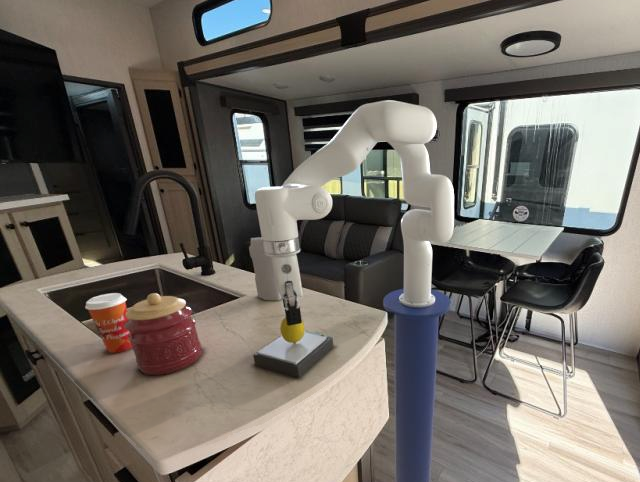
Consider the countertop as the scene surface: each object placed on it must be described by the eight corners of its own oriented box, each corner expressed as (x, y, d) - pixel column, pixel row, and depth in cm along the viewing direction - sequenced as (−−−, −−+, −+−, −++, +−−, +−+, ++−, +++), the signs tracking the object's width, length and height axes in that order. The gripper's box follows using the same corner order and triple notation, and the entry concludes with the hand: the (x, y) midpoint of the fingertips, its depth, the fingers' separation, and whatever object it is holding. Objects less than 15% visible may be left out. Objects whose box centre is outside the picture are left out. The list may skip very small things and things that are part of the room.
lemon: (277, 347, 77) (273, 317, 74) (292, 336, 82) (288, 308, 79) (297, 351, 75) (293, 321, 73) (310, 339, 80) (307, 311, 77)
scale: (293, 337, 88) (292, 326, 87) (333, 347, 84) (332, 335, 82) (254, 365, 76) (252, 352, 75) (299, 378, 72) (297, 364, 70)
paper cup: (97, 357, 79) (76, 306, 74) (109, 342, 85) (92, 294, 80) (135, 351, 82) (118, 301, 77) (145, 337, 88) (129, 290, 83)
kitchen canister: (132, 382, 70) (105, 310, 64) (146, 352, 81) (125, 288, 75) (200, 367, 75) (182, 299, 69) (205, 341, 86) (189, 280, 80)
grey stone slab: (253, 297, 114) (242, 237, 106) (261, 293, 117) (252, 235, 110) (277, 302, 110) (267, 240, 103) (284, 297, 114) (276, 237, 106)
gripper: (304, 253, 64) (314, 328, 70) (295, 235, 79) (303, 298, 85) (264, 258, 61) (278, 335, 67) (262, 239, 76) (274, 303, 82)
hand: (292, 314), depth 76 cm, fingers open, 9 cm apart
